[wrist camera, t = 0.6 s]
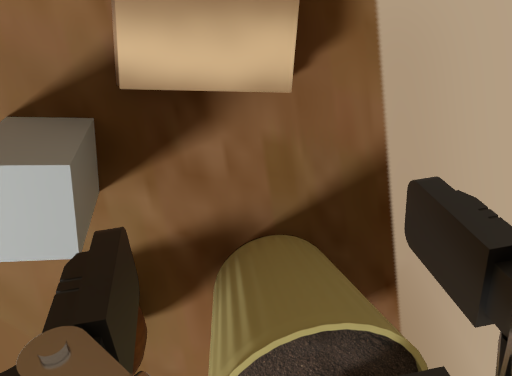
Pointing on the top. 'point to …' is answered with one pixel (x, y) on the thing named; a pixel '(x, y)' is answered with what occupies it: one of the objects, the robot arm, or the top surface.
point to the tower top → (206, 44)
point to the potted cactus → (299, 318)
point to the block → (46, 186)
